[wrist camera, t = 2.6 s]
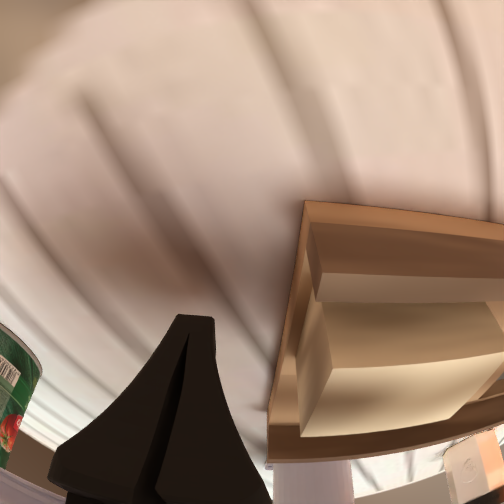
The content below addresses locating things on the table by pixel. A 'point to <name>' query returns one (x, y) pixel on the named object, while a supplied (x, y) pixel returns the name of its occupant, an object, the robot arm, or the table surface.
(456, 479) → the jar
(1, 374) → the canned tomato
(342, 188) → the table surface
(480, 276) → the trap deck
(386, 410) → the maple block
